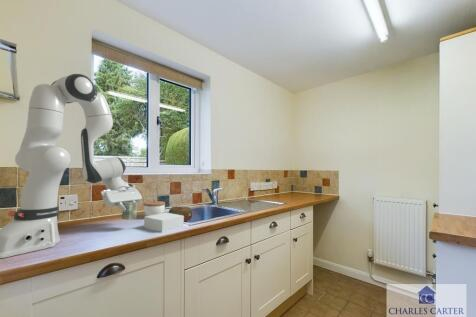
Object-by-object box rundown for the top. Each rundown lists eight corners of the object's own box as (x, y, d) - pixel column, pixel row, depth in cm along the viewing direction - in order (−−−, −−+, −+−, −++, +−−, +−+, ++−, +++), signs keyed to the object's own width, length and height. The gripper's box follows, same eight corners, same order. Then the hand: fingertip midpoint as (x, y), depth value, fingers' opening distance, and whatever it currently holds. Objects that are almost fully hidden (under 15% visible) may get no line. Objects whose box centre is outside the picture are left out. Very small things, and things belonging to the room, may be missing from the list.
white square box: (162, 233, 109) (162, 220, 109) (143, 228, 116) (144, 216, 116) (183, 227, 120) (183, 215, 121) (165, 223, 128) (166, 212, 128)
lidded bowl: (144, 215, 145) (144, 198, 146) (164, 214, 149) (165, 198, 149) (142, 220, 133) (142, 201, 134) (164, 219, 137) (165, 200, 137)
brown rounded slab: (168, 220, 134) (168, 206, 134) (170, 219, 137) (171, 205, 137) (191, 222, 130) (191, 207, 131) (193, 221, 133) (194, 206, 134)
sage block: (128, 219, 110) (129, 203, 111) (121, 218, 112) (123, 202, 113) (136, 218, 115) (137, 202, 115) (129, 217, 116) (130, 201, 117)
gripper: (102, 185, 107) (116, 208, 103) (136, 184, 126) (149, 203, 122) (95, 194, 109) (108, 217, 105) (129, 192, 128) (142, 211, 124)
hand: (130, 209), depth 114 cm, fingers closed on sage block, 5 cm apart
